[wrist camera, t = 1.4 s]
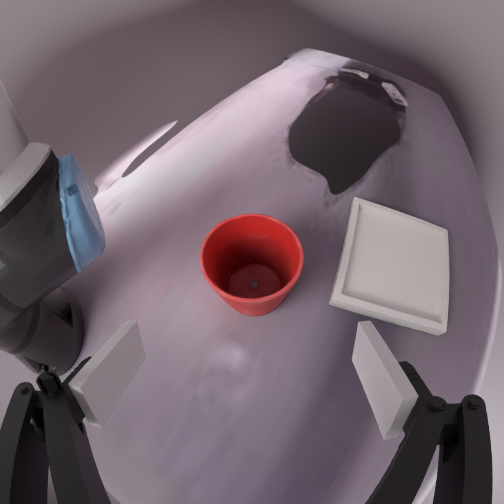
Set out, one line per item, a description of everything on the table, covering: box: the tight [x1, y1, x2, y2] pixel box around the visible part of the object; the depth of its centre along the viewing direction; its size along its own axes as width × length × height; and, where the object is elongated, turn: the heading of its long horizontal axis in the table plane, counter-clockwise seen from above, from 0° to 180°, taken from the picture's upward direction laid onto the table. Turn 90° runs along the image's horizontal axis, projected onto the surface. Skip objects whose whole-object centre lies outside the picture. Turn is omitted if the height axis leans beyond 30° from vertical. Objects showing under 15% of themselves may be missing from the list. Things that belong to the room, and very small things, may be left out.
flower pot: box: [200, 214, 304, 316], centre depth 32 cm, size 11×11×10 cm
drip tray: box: [328, 197, 449, 336], centre depth 36 cm, size 18×18×2 cm
